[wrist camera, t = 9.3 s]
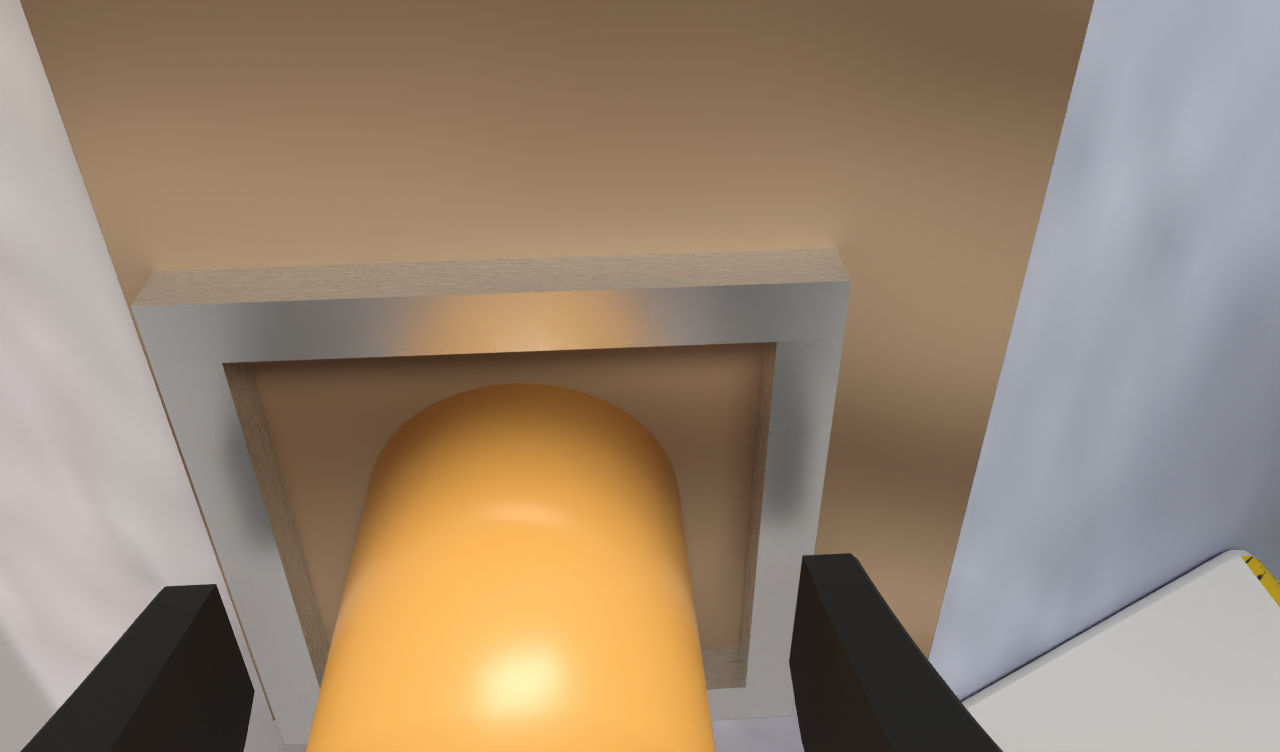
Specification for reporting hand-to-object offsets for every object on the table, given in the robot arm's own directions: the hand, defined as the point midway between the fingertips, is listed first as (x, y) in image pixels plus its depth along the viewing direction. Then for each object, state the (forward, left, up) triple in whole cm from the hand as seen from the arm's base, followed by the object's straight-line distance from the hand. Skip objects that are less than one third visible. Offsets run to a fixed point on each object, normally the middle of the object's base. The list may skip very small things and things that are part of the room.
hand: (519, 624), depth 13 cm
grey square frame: (0, 0, -2) cm, 2 cm away
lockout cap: (0, 0, -2) cm, 2 cm away
